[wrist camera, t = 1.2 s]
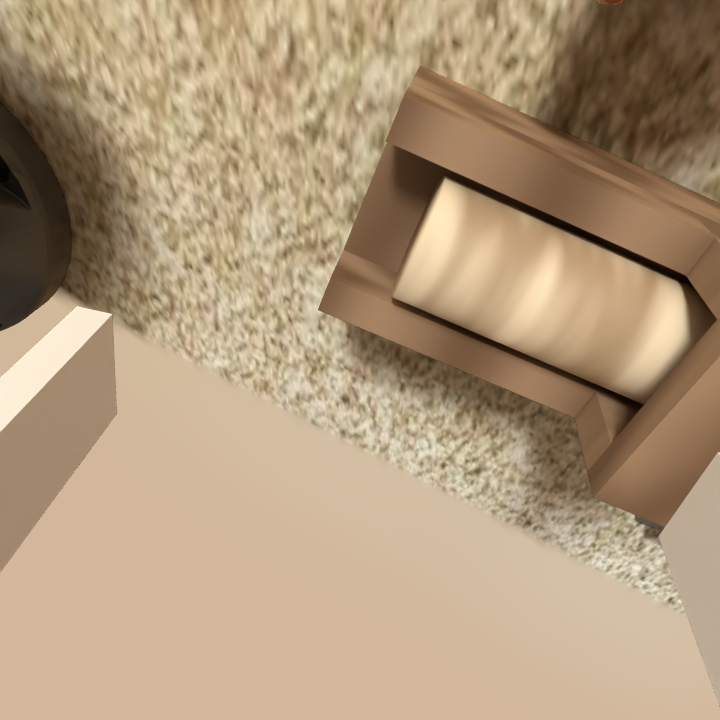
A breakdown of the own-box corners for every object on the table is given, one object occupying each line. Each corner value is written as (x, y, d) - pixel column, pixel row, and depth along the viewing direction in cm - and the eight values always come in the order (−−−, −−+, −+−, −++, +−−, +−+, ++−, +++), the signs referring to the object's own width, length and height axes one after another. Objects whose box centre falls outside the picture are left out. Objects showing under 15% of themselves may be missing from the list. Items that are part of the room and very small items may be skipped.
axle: (398, 263, 27) (384, 319, 23) (448, 159, 24) (441, 201, 20) (751, 416, 29) (796, 494, 24) (837, 334, 26) (904, 406, 22)
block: (349, 240, 32) (289, 372, 22) (420, 66, 27) (387, 126, 17) (635, 363, 34) (712, 546, 23) (752, 218, 29) (919, 365, 18)
